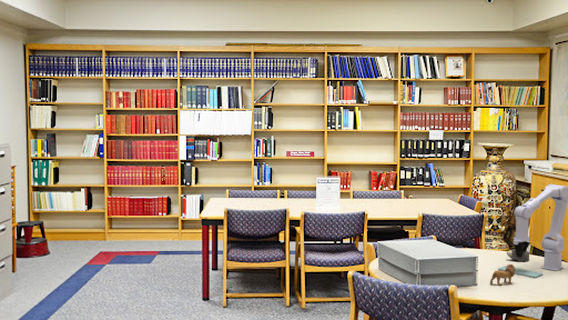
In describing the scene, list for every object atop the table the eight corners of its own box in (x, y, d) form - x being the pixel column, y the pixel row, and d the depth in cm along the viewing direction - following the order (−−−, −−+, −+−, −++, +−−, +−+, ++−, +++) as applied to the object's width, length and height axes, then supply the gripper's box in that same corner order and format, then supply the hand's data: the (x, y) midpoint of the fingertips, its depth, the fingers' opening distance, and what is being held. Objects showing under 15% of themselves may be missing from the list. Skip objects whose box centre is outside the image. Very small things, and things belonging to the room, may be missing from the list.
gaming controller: (505, 260, 300) (524, 263, 294) (506, 250, 300) (525, 253, 294) (511, 255, 312) (530, 258, 307) (512, 245, 312) (531, 248, 306)
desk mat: (505, 267, 287) (506, 265, 287) (542, 274, 273) (542, 273, 273) (497, 270, 281) (498, 268, 281) (535, 278, 267) (535, 276, 267)
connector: (509, 256, 282) (510, 248, 282) (530, 260, 274) (530, 252, 274) (506, 257, 280) (507, 249, 279) (527, 262, 272) (527, 253, 272)
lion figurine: (508, 280, 263) (509, 262, 262) (517, 283, 258) (518, 265, 257) (486, 284, 256) (487, 265, 255) (495, 287, 251) (496, 268, 251)
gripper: (520, 226, 283) (519, 252, 284) (507, 230, 273) (506, 257, 274) (534, 229, 278) (532, 255, 279) (521, 232, 268) (520, 259, 269)
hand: (520, 256), depth 276 cm, fingers closed on connector, 3 cm apart
